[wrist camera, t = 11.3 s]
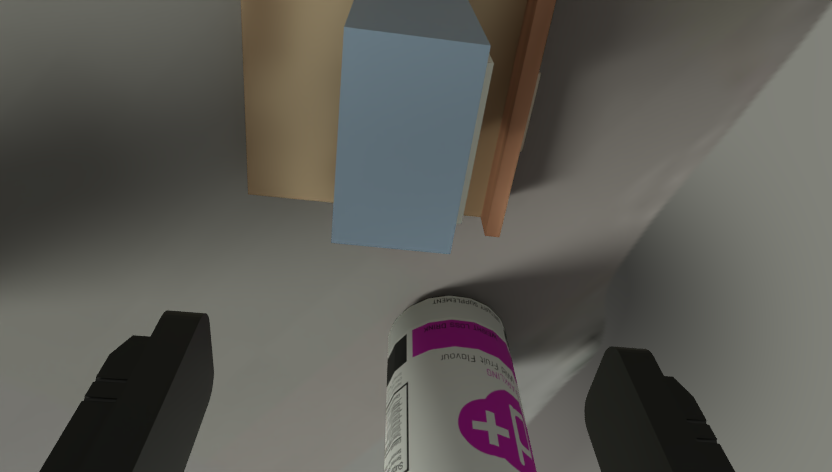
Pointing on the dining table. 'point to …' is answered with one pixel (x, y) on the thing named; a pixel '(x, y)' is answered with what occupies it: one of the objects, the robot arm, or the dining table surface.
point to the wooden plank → (320, 96)
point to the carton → (408, 122)
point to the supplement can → (453, 392)
